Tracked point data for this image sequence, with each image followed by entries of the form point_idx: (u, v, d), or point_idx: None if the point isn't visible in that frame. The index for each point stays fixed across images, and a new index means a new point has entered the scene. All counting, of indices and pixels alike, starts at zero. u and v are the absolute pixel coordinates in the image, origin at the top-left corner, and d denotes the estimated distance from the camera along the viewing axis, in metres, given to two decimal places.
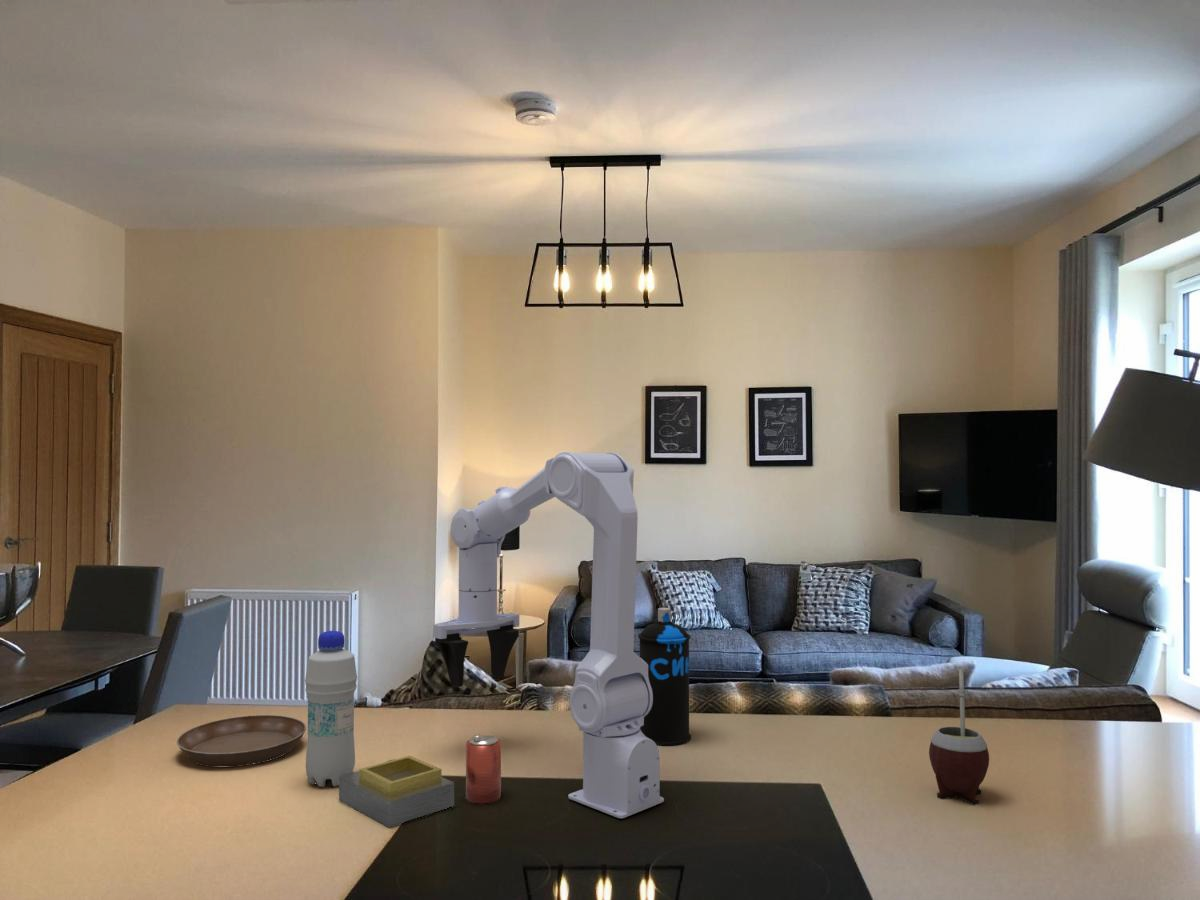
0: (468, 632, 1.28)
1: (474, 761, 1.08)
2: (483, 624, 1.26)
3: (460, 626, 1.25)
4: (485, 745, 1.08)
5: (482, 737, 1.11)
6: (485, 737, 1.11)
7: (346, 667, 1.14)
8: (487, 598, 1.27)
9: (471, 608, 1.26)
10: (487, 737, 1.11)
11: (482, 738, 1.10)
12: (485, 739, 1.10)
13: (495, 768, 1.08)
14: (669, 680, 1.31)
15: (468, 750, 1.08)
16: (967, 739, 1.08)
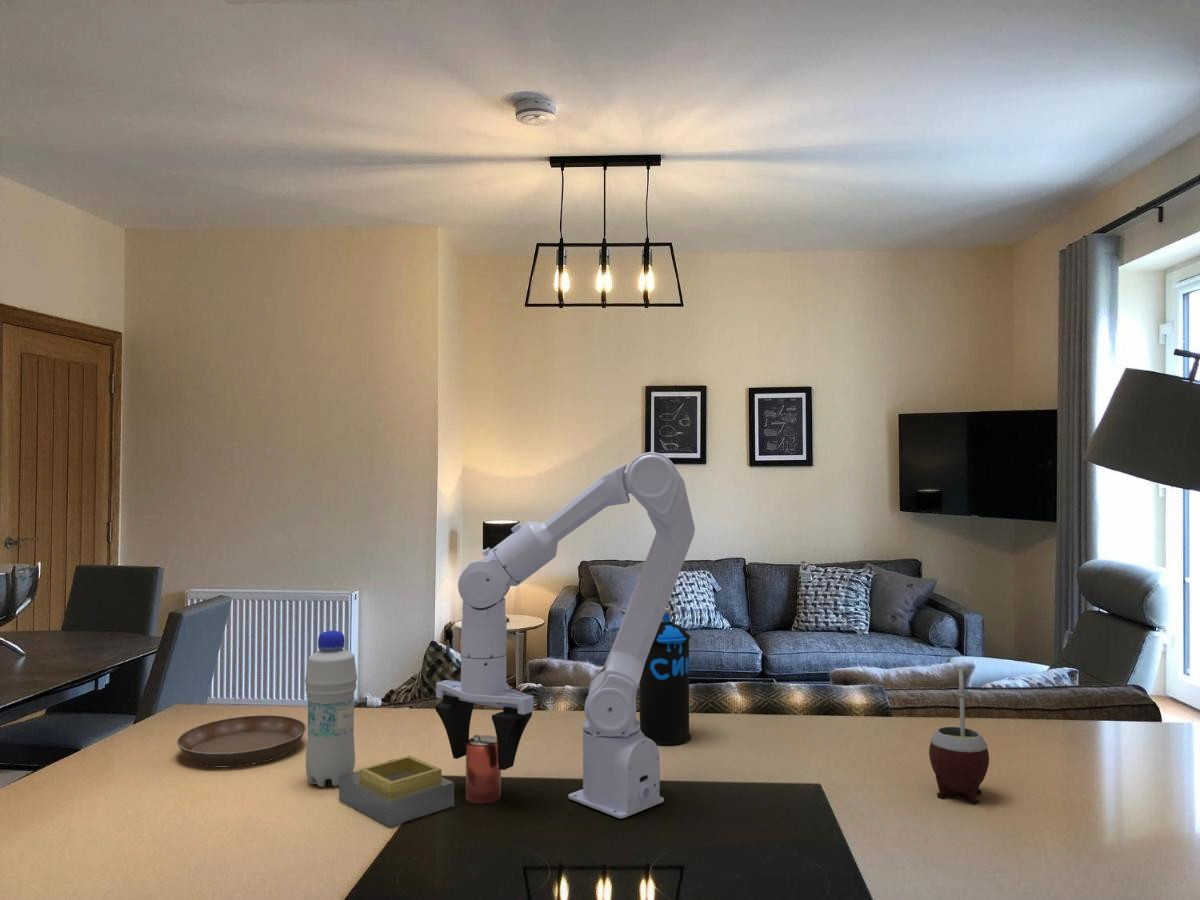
0: (470, 700, 1.11)
1: (474, 761, 1.08)
2: (462, 695, 1.08)
3: (449, 689, 1.11)
4: (485, 745, 1.08)
5: (482, 737, 1.11)
6: (485, 737, 1.11)
7: (346, 667, 1.14)
8: (467, 666, 1.08)
9: None
10: (488, 737, 1.11)
11: (482, 739, 1.10)
12: (485, 739, 1.10)
13: (495, 768, 1.08)
14: (669, 680, 1.31)
15: (468, 750, 1.08)
16: (967, 739, 1.08)
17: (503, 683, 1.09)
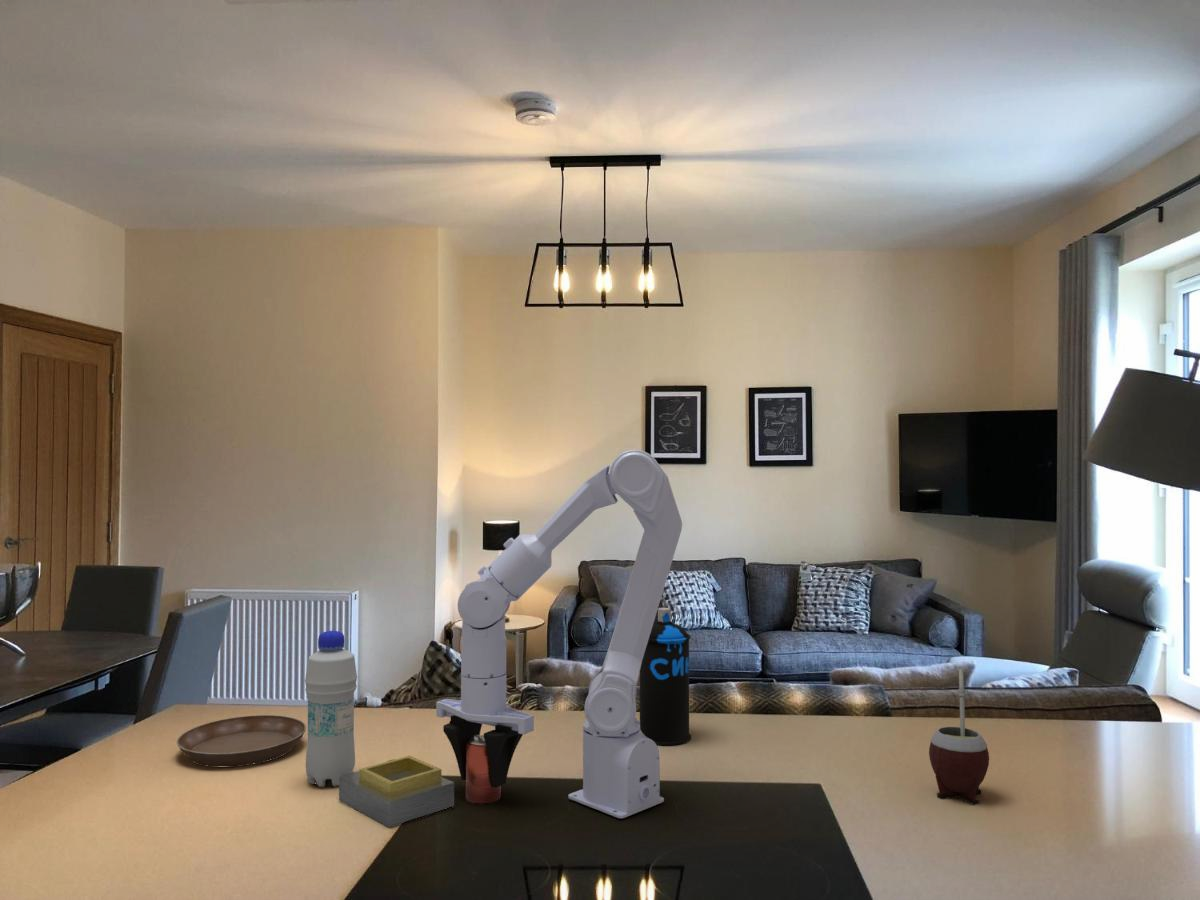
0: (470, 720, 1.11)
1: (474, 761, 1.08)
2: (462, 714, 1.08)
3: (449, 709, 1.11)
4: (485, 745, 1.08)
5: (482, 737, 1.11)
6: None
7: (346, 667, 1.14)
8: (467, 685, 1.08)
9: None
10: None
11: (482, 738, 1.10)
12: None
13: None
14: (669, 680, 1.31)
15: (468, 750, 1.08)
16: (967, 739, 1.08)
17: (503, 702, 1.09)
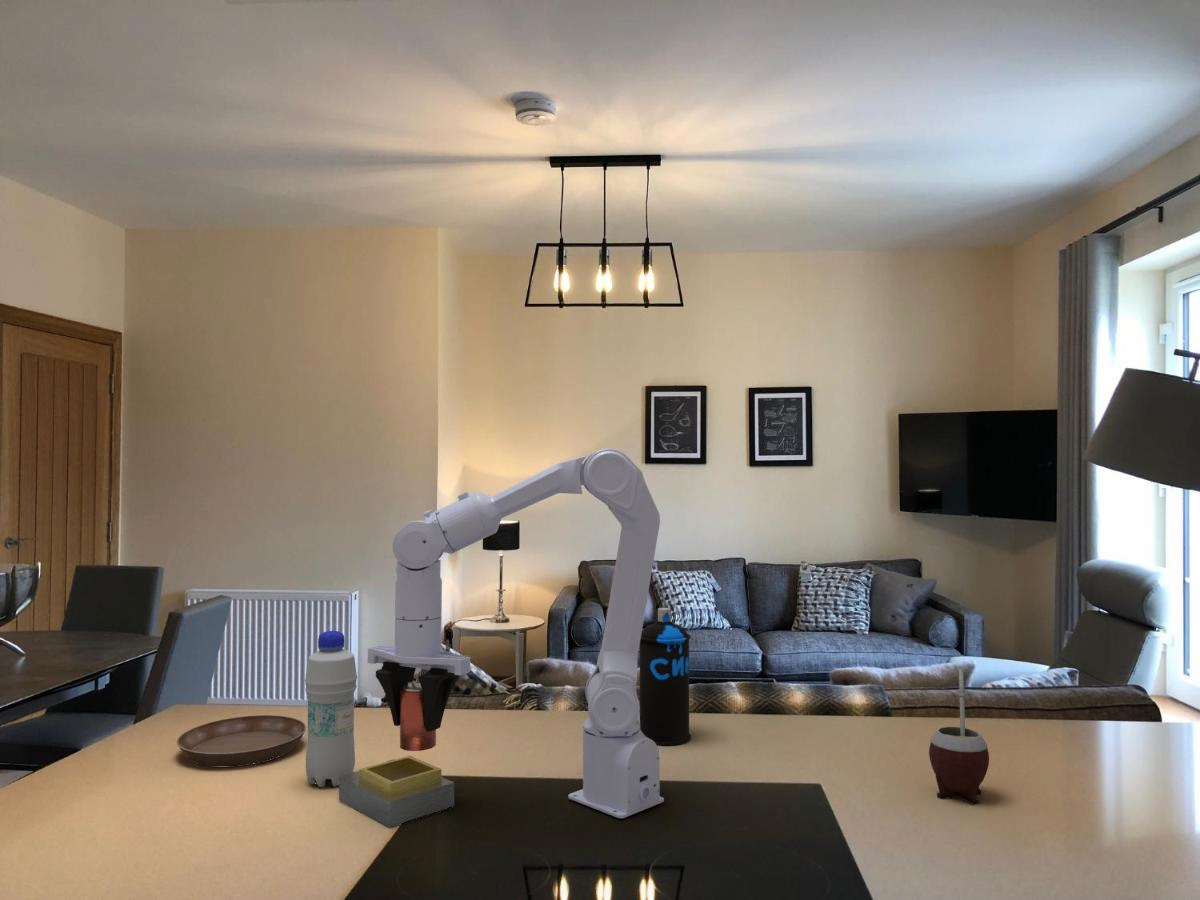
0: (403, 664, 1.08)
1: (407, 707, 1.06)
2: (396, 658, 1.06)
3: (381, 654, 1.08)
4: (419, 691, 1.06)
5: (417, 684, 1.09)
6: (420, 684, 1.09)
7: (346, 667, 1.14)
8: (401, 628, 1.06)
9: None
10: None
11: (416, 685, 1.08)
12: (419, 686, 1.08)
13: None
14: (669, 680, 1.31)
15: (402, 697, 1.07)
16: (967, 739, 1.08)
17: (438, 645, 1.07)
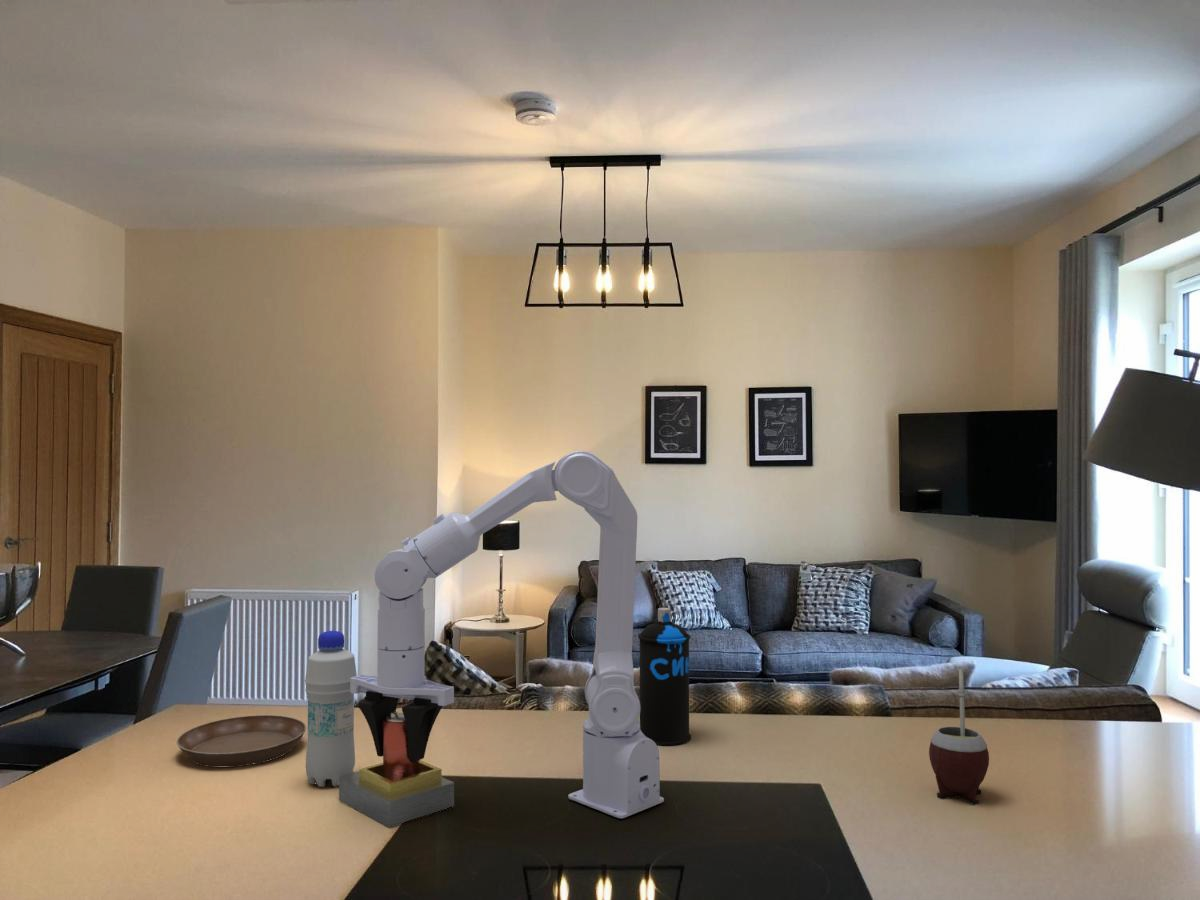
0: (386, 694, 1.08)
1: (390, 738, 1.05)
2: (378, 689, 1.05)
3: (364, 684, 1.08)
4: (402, 722, 1.06)
5: (400, 714, 1.08)
6: (403, 714, 1.08)
7: (346, 667, 1.14)
8: (384, 658, 1.05)
9: None
10: None
11: (399, 716, 1.08)
12: (403, 716, 1.07)
13: None
14: (669, 680, 1.31)
15: (384, 727, 1.06)
16: (967, 739, 1.08)
17: (422, 675, 1.07)
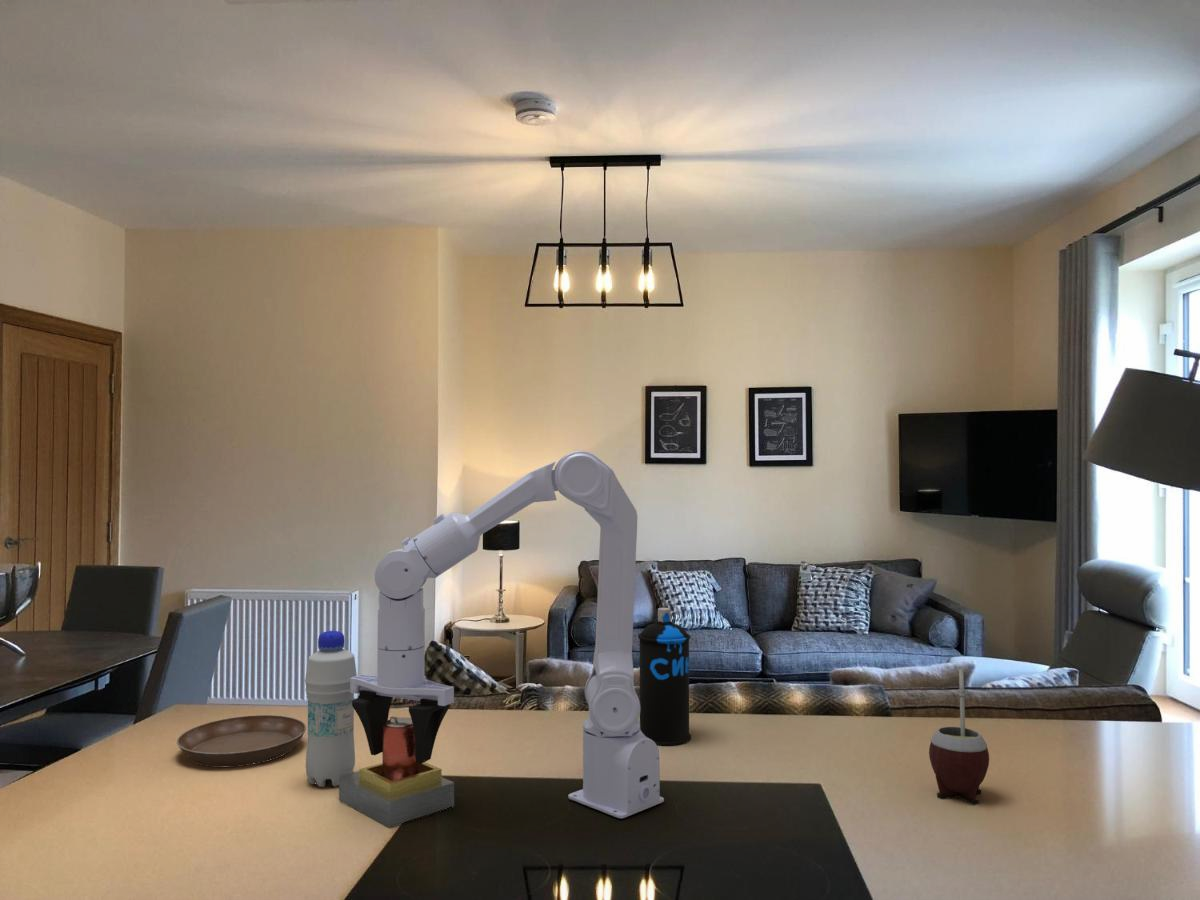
0: (386, 694, 1.08)
1: (390, 743, 1.05)
2: (378, 688, 1.05)
3: (364, 684, 1.08)
4: (401, 727, 1.06)
5: (400, 719, 1.08)
6: (403, 719, 1.08)
7: (346, 667, 1.14)
8: (384, 658, 1.05)
9: (377, 666, 1.07)
10: (405, 719, 1.08)
11: (399, 720, 1.08)
12: (402, 721, 1.07)
13: (412, 750, 1.06)
14: (669, 680, 1.31)
15: (384, 732, 1.06)
16: (967, 739, 1.08)
17: (422, 675, 1.07)
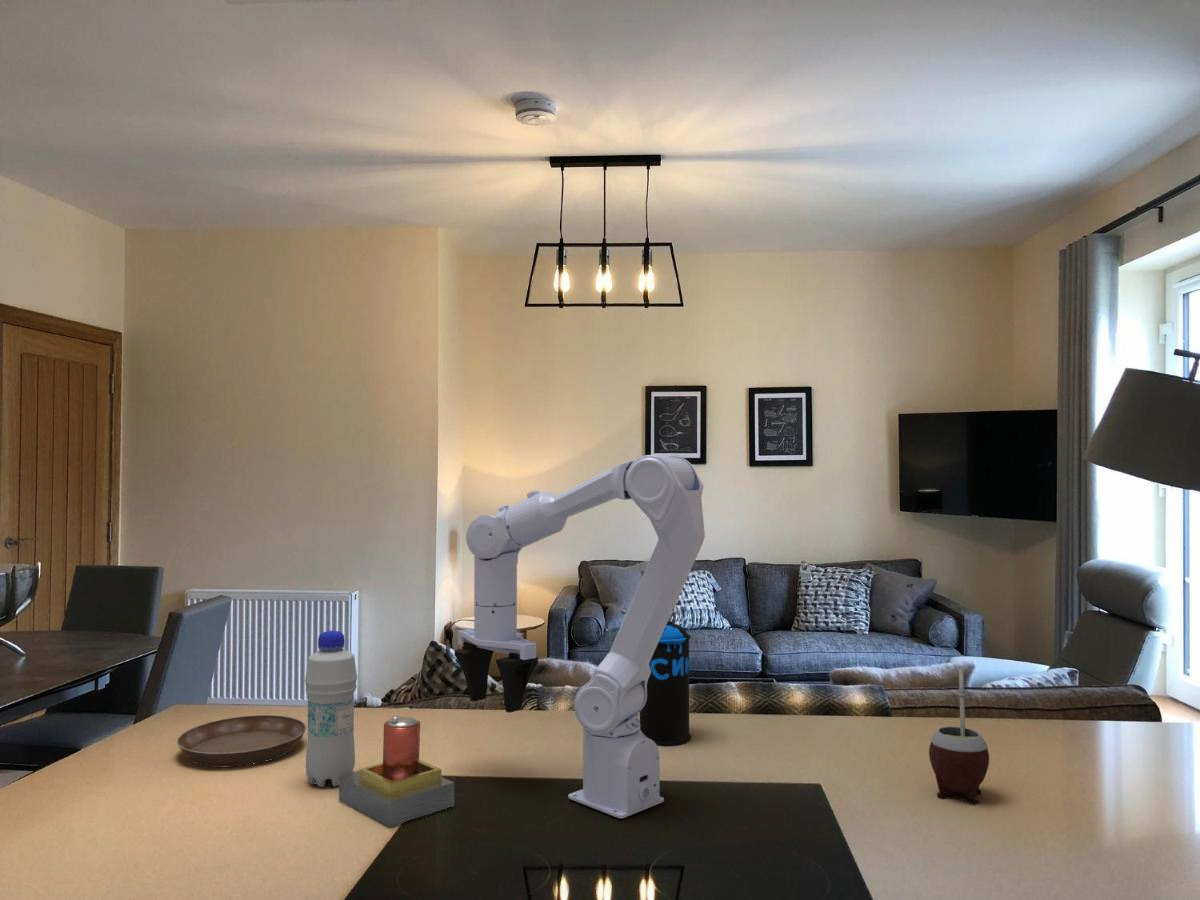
0: (484, 647, 1.18)
1: (390, 743, 1.05)
2: (473, 640, 1.15)
3: (466, 636, 1.18)
4: (403, 727, 1.05)
5: (401, 719, 1.08)
6: (404, 719, 1.08)
7: (346, 667, 1.14)
8: (477, 613, 1.15)
9: None
10: (407, 718, 1.08)
11: (401, 720, 1.08)
12: (404, 721, 1.07)
13: (413, 750, 1.06)
14: (669, 680, 1.31)
15: (385, 732, 1.06)
16: (967, 739, 1.08)
17: (511, 631, 1.15)
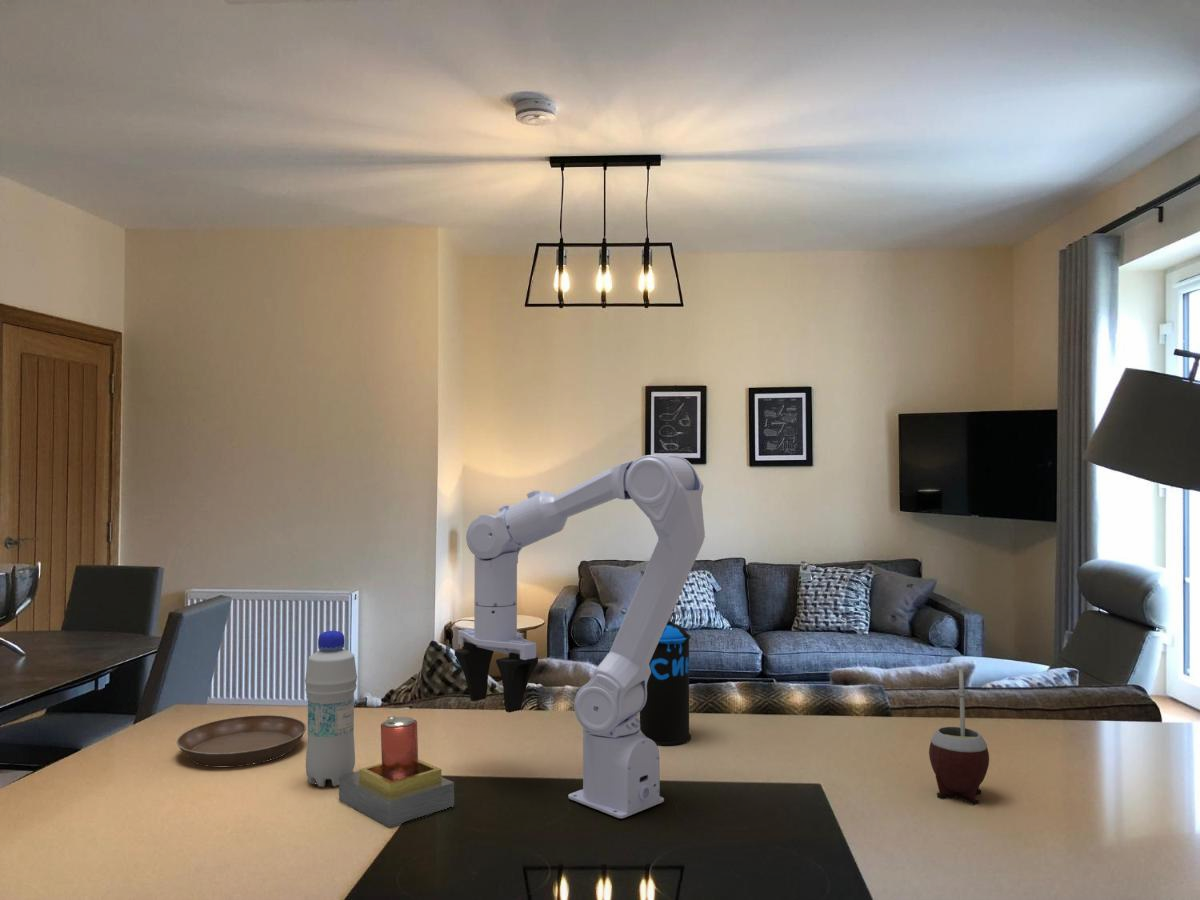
0: (484, 647, 1.18)
1: (388, 743, 1.05)
2: (473, 640, 1.15)
3: (466, 636, 1.18)
4: (399, 726, 1.05)
5: (398, 719, 1.08)
6: (401, 718, 1.08)
7: (346, 667, 1.14)
8: (477, 613, 1.15)
9: None
10: (404, 718, 1.08)
11: (397, 720, 1.07)
12: (400, 720, 1.07)
13: (410, 750, 1.06)
14: (669, 680, 1.31)
15: (382, 732, 1.06)
16: (967, 739, 1.08)
17: (511, 631, 1.15)
